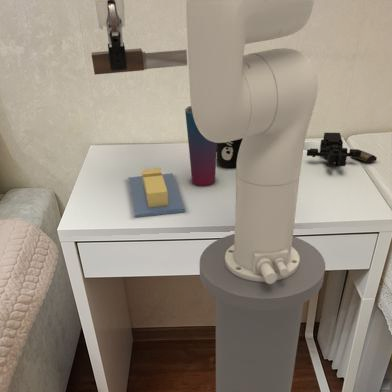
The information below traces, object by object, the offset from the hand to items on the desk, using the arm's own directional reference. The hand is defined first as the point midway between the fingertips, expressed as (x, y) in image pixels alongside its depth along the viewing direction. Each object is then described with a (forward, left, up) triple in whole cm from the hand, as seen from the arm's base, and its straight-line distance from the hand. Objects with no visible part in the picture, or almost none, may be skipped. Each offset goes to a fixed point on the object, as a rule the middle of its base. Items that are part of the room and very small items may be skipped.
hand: (118, 66), depth 100 cm
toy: (-13, -44, -19) cm, 50 cm away
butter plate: (-14, -4, -22) cm, 26 cm away
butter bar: (-17, -4, -21) cm, 27 cm away
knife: (0, -4, -1) cm, 5 cm away
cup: (-9, -15, -22) cm, 28 cm away
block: (-6, -54, -22) cm, 59 cm away
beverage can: (-1, -23, -22) cm, 32 cm away
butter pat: (-10, -4, -21) cm, 24 cm away
